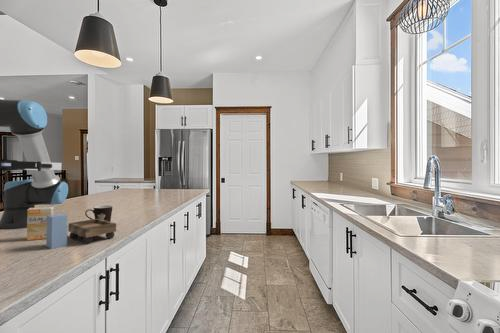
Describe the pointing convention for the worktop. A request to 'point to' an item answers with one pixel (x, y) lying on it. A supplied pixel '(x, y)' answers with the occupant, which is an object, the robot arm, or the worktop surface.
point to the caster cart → (91, 229)
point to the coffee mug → (102, 212)
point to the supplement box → (38, 222)
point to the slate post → (56, 230)
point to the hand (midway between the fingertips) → (53, 166)
